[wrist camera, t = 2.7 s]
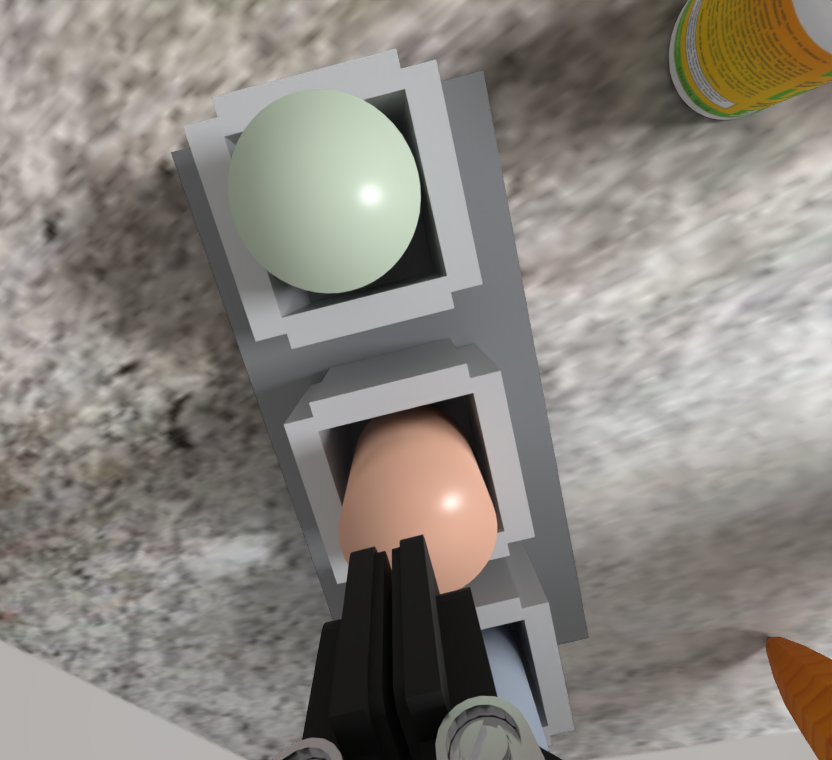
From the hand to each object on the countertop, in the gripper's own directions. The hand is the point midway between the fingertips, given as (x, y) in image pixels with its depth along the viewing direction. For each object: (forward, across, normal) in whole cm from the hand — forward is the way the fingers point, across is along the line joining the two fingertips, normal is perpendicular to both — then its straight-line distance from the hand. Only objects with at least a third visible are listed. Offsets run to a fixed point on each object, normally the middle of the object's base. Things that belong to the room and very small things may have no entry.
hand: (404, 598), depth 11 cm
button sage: (+8, -1, -9) cm, 12 cm away
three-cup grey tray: (+13, -1, 0) cm, 13 cm away
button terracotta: (+8, -1, 0) cm, 8 cm away
